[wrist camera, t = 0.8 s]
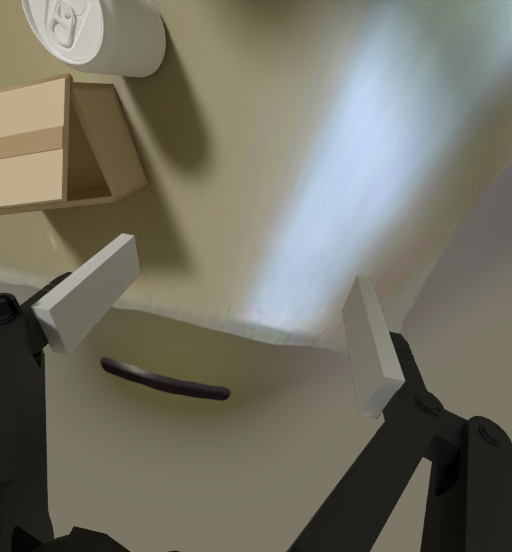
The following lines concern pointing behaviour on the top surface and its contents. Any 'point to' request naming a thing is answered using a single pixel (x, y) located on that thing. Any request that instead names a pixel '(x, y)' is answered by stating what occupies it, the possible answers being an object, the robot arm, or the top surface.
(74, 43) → the beverage can
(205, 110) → the top surface
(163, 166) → the top surface
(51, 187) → the lid
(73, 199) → the carton
